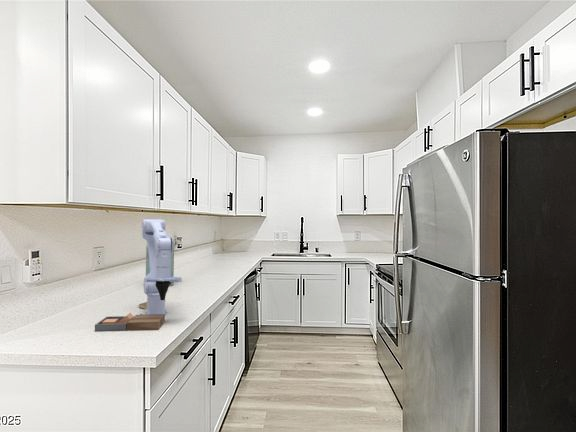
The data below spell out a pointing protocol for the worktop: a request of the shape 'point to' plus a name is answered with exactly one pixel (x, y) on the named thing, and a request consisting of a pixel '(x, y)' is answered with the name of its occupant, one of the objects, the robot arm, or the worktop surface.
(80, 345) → the worktop surface
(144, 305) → the fish fossil
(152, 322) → the board
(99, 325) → the box
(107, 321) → the tile
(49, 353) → the worktop surface
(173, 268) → the device
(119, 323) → the tile
